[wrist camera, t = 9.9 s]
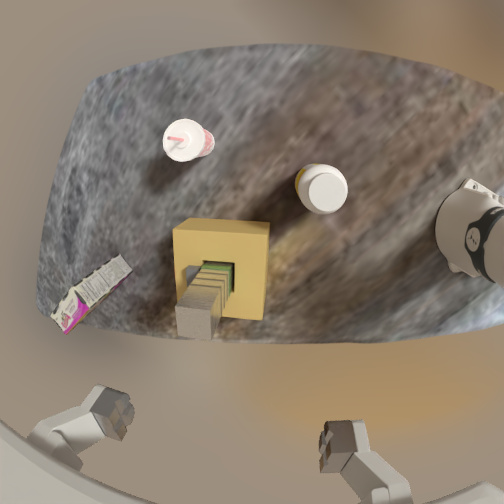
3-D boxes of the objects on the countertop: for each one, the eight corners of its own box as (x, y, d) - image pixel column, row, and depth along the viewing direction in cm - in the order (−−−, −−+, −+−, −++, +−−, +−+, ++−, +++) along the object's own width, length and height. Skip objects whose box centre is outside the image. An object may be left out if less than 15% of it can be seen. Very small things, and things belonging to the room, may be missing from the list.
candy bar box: (108, 297, 56) (65, 336, 40) (94, 280, 55) (48, 315, 39) (135, 270, 53) (89, 310, 37) (120, 251, 52) (70, 285, 36)
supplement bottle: (303, 209, 45) (310, 228, 33) (288, 172, 44) (290, 176, 31) (340, 195, 44) (361, 209, 32) (326, 157, 42) (343, 157, 30)
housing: (270, 222, 47) (266, 237, 38) (265, 297, 51) (261, 326, 42) (188, 217, 48) (167, 231, 39) (191, 290, 52) (174, 316, 44)
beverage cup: (213, 120, 42) (184, 106, 29) (223, 154, 44) (199, 152, 30) (179, 133, 43) (141, 125, 30) (190, 165, 45) (154, 169, 32)
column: (235, 258, 44) (211, 309, 29) (235, 282, 45) (212, 341, 30) (209, 256, 44) (173, 305, 29) (209, 280, 46) (177, 336, 31)
